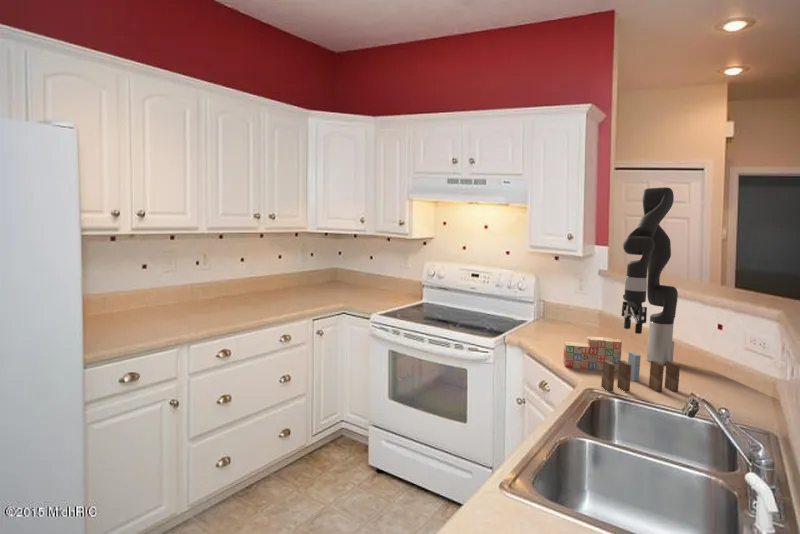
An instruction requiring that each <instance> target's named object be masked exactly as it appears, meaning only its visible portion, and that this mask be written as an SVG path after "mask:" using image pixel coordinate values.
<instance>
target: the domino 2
mask: <svg viewBox="0 0 800 534" xmlns="http://www.w3.org/2000/svg"><path fill="white" fill-rule="evenodd" d="M627 359H628V360H627V362H628V363H630V364H631V378H630V381H632V382H639V381H640V368H641V355H640V354H639V353H636V352H634V351H629V352H628V358H627Z"/></svg>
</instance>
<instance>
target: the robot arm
mask: <svg viewBox="0 0 800 534" xmlns="http://www.w3.org/2000/svg"><path fill="white" fill-rule="evenodd" d="M641 198H642V199H641V200H642V208H643V216H642V217H641V218H640V219H639V220H638V222H637V224H636V227H635V228H634V230H633V231H631V232H630V233H629V234H628V235H627V236H626V238H625V239H624V241H623V245H622V247H623V248H622V249H623V251H624V252H625V253H626V254H628V255H632V256H633V255H635V256H641V258H640V259H638V260H632V261H629V262H627V264H626V265H627V266H626V276H625V277H626V278H625V283H624V295H623V296H624V297H623V299H624V301H622V306H621V307H622V308H621V317H623V319H624V323H623V325H624V326H623V328H624V329H625V330H629V329H631V323H632V318H633V319H634V321H635V328H634V333H635V334H636V335H639V334H642V332H643V324H647V314H648V313H647V312H648V307H647V306H643V304H644V303H645V302H647V301H648V303H649V304H650V305H651V306H656V307H662V311H660V312H657V313H653V314H650V316H649V326H648V327H649V328H648V329H649V330H648V339H647V341H648V343H647V355H646V361H647V362H650V363H651V361H658V362H660V363H662V364H664V365H666V363H667V361H673V362H674V352H675V351H674V349H675V341H674V340H673V335H674V323H675V317H676V311H677V304H678V297H679V294H678V290H677V287H675V286H671V285H664V284H661V283H660V280H661V279H660V278H661V274H662V271H663V270H664V268H665V267H666V266H667V264H668V262H669V261H670V259H671V256H672V247H671V244H672V243H671V239H670V237H669V235H668V234H667V233H666V231H665V230H664V229H663V227H662V226H661V225H660V223H661V222H662V221H663V219H664V218H665V217H666V216H667V214H668V212H669V211H670V210H671V209H672V208H673V207H672V206H673V204H674V200H675V199H674V198H675V197H674V191H673V189H672V188H671V187H649V188H644V190H643V193H642V197H641Z"/></svg>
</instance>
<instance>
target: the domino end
mask: <svg viewBox="0 0 800 534" xmlns="http://www.w3.org/2000/svg"><path fill="white" fill-rule="evenodd" d="M615 372H616V371H615V364H614V363H612V362H610V361H609V360H603V369H602V370H601V385H600V387H603V388H604V389H605V390H604V389H603V388H602V389H603V390H604V391H606V390H607V391H613V392H614V386H615V385H614V382H615ZM607 391H606V392H607Z"/></svg>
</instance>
